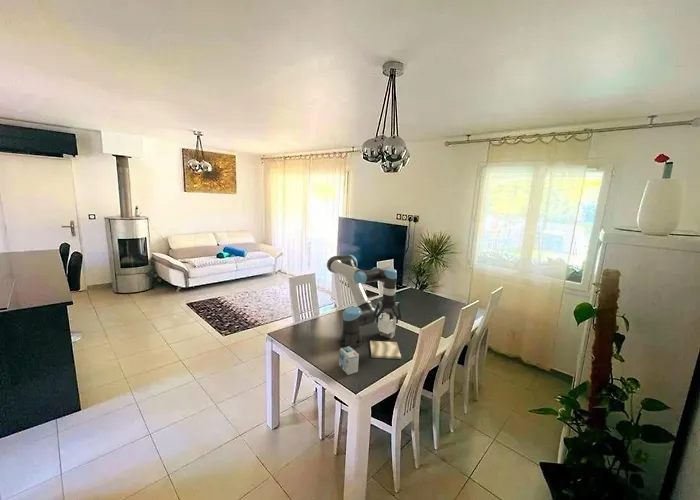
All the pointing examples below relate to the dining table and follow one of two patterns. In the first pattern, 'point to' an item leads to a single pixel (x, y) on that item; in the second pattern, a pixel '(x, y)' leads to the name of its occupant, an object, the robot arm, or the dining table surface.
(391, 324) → the medicine bottle
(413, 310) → the dining table surface
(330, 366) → the dining table surface
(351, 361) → the light bulb box
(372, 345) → the birch board
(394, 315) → the coffee box
